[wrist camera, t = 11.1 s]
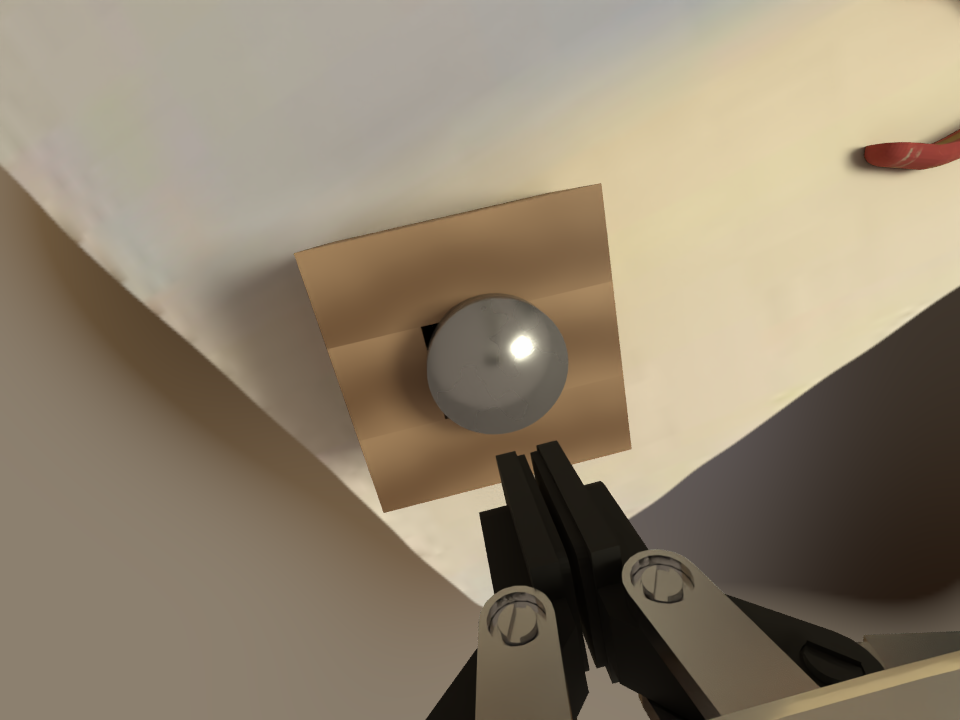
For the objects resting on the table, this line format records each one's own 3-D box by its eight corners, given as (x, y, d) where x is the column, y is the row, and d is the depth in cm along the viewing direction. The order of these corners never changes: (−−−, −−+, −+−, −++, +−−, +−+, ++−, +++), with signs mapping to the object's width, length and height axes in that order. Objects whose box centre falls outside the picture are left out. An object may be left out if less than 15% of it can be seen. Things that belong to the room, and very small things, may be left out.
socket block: (330, 242, 27) (293, 253, 19) (552, 192, 28) (601, 183, 20) (393, 441, 31) (383, 512, 24) (582, 394, 32) (631, 449, 25)
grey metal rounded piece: (414, 287, 27) (410, 318, 19) (517, 263, 28) (556, 283, 20) (439, 384, 29) (446, 448, 21) (535, 361, 30) (577, 415, 22)
